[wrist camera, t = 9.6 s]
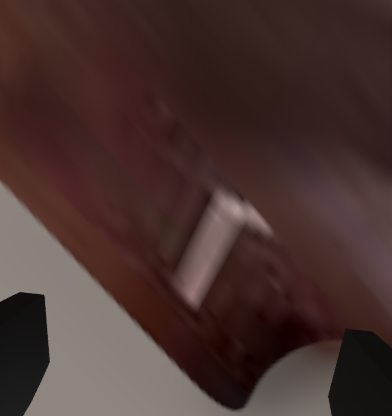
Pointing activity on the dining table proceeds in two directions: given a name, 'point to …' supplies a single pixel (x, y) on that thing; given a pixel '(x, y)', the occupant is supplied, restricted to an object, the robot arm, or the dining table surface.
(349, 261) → the dining table surface
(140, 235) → the dining table surface
